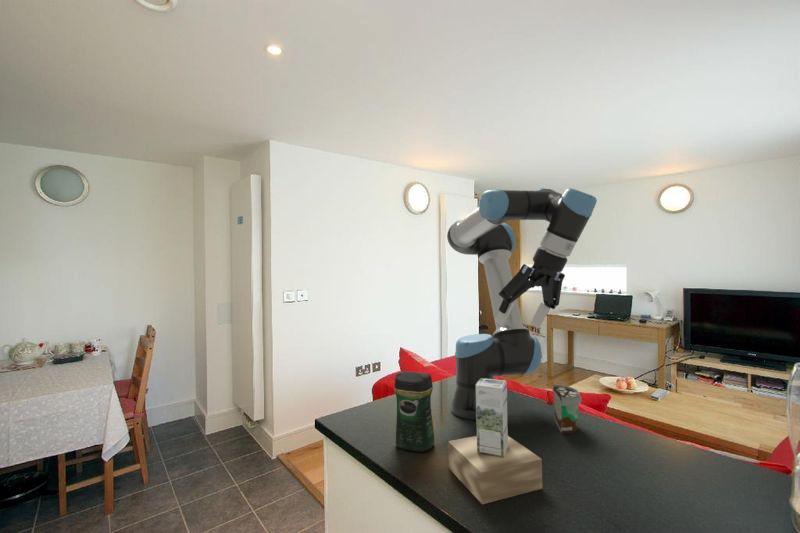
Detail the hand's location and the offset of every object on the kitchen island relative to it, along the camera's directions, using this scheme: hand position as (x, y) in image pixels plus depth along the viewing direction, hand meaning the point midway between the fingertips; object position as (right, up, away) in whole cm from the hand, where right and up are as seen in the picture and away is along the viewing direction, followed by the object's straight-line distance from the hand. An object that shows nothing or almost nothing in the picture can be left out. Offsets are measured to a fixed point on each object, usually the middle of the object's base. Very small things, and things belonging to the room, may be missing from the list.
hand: (517, 324), depth 99 cm
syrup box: (-11, -24, -19) cm, 33 cm away
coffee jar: (-27, -30, -4) cm, 41 cm away
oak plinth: (-11, -30, -19) cm, 37 cm away
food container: (+16, -30, +5) cm, 34 cm away
